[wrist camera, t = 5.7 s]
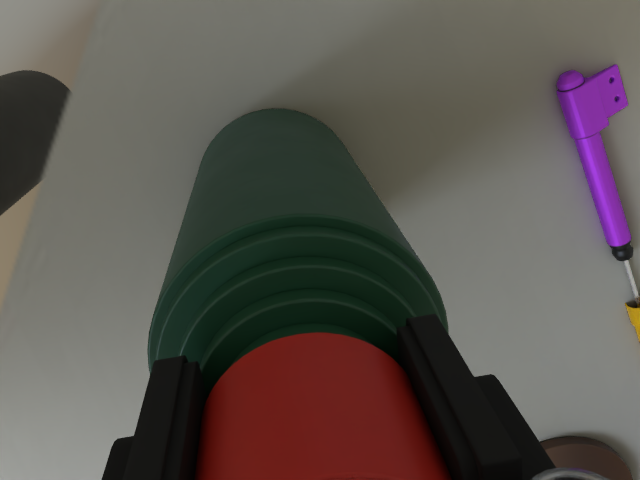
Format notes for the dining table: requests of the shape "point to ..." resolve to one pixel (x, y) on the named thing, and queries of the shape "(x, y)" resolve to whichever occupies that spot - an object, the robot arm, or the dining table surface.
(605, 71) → the purple tool
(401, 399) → the cap
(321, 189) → the bottle
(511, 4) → the dining table surface
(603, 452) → the coaster
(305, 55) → the dining table surface
